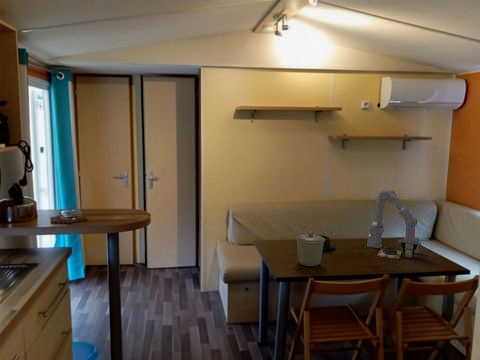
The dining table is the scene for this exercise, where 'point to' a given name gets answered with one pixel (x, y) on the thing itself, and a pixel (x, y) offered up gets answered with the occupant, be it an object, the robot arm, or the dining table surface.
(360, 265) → the dining table surface
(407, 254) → the white round cylinder
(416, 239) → the photo printer
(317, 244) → the canister
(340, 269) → the dining table surface
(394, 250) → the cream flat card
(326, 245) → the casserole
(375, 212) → the robot arm
